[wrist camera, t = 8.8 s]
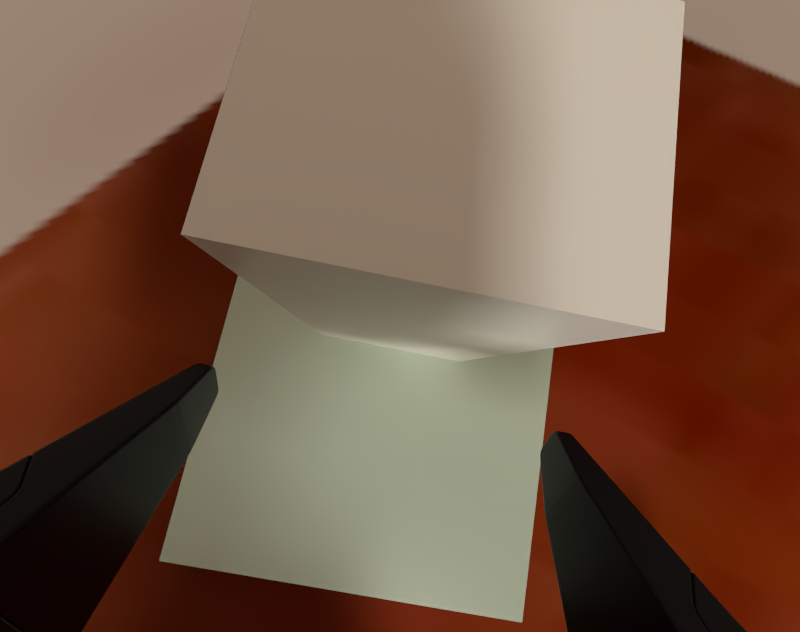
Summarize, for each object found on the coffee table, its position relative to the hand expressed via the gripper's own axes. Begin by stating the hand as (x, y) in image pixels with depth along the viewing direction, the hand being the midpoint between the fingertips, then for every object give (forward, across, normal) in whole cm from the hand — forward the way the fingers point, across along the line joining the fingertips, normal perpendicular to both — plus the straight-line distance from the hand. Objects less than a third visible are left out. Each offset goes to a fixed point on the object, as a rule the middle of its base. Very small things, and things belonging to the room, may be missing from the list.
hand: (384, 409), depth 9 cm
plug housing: (+7, 0, +1) cm, 7 cm away
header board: (+6, 0, +3) cm, 7 cm away
